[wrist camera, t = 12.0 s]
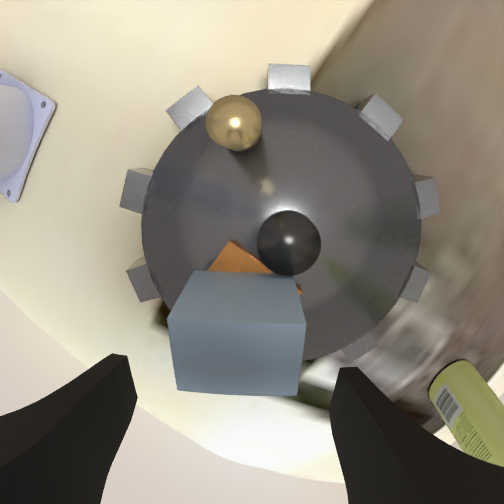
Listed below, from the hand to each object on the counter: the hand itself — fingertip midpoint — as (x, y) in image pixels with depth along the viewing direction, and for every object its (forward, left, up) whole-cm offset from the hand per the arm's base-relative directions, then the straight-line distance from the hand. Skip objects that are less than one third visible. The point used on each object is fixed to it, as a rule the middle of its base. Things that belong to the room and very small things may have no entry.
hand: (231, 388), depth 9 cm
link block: (0, 0, -7) cm, 7 cm away
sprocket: (0, +4, -9) cm, 10 cm away
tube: (+21, +2, -10) cm, 23 cm away
